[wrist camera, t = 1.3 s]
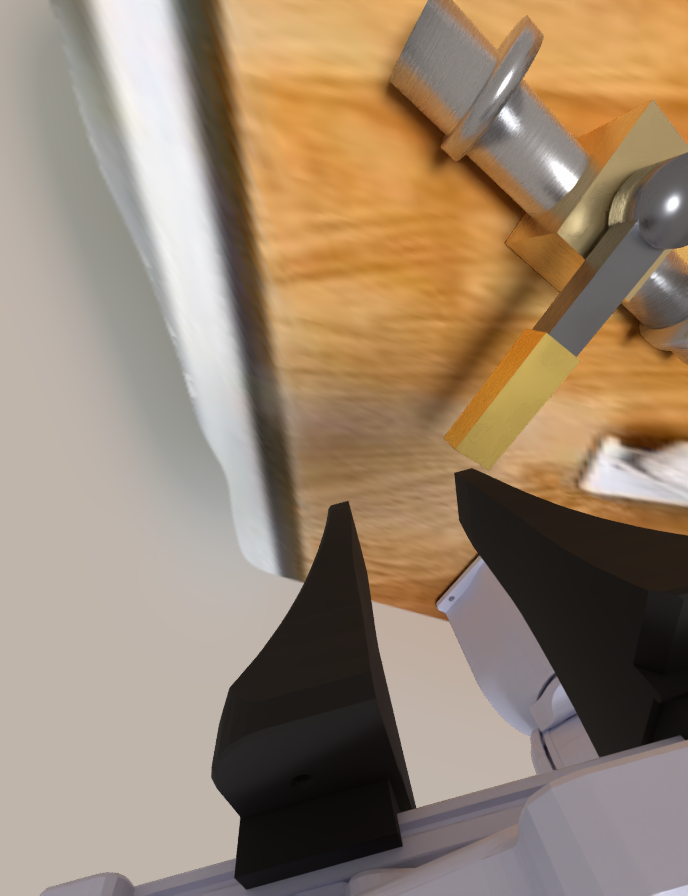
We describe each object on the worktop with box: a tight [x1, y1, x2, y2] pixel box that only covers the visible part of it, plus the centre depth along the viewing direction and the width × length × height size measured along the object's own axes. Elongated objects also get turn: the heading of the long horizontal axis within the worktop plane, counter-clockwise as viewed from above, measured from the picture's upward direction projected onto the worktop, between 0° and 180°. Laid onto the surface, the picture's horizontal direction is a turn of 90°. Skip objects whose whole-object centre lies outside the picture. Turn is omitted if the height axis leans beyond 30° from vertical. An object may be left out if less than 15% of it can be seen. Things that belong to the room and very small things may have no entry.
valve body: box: [389, 0, 688, 365], centre depth 16 cm, size 5×22×4 cm, turn 58°
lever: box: [444, 152, 688, 470], centre depth 15 cm, size 14×3×2 cm, turn 148°
